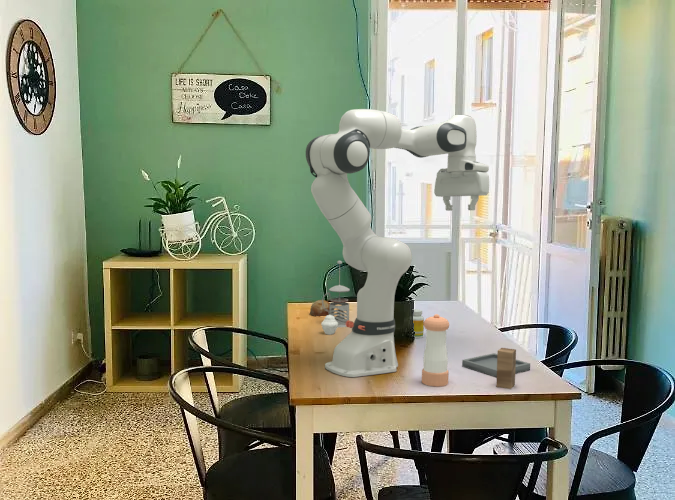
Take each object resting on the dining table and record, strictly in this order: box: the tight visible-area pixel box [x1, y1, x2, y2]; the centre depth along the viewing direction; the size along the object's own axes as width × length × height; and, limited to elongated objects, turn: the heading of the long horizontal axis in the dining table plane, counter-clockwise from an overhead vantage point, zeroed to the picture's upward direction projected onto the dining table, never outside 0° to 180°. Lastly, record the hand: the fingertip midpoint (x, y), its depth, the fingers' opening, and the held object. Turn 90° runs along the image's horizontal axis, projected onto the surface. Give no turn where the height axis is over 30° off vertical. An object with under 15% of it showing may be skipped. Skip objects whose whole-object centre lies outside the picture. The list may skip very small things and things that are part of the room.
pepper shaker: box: [421, 313, 450, 387], centre depth 180 cm, size 7×7×19 cm
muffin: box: [320, 315, 338, 335], centre depth 238 cm, size 6×6×7 cm
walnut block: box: [496, 347, 517, 390], centre depth 178 cm, size 4×4×10 cm
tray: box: [461, 352, 531, 378], centre depth 196 cm, size 14×14×2 cm
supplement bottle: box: [413, 308, 425, 339], centre depth 234 cm, size 5×5×10 cm
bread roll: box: [309, 299, 331, 317], centre depth 272 cm, size 10×10×8 cm
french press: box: [321, 260, 350, 328], centre depth 252 cm, size 10×12×25 cm
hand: (460, 210), depth 209 cm, fingers open, 8 cm apart
